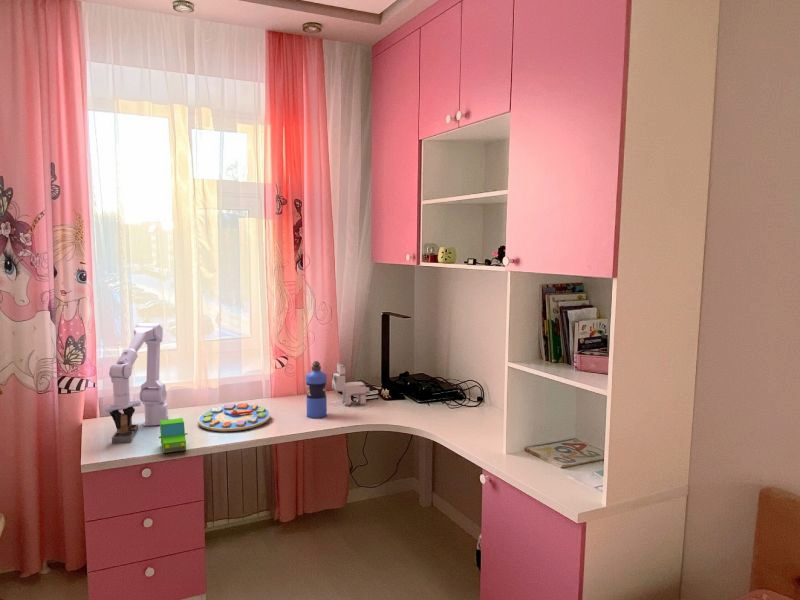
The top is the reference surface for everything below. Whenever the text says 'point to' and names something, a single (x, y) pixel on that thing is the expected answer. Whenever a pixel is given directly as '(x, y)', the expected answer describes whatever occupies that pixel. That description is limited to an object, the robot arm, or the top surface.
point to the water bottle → (316, 392)
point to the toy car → (172, 435)
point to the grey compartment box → (126, 434)
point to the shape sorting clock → (234, 417)
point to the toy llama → (348, 387)
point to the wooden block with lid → (123, 424)
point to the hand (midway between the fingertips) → (122, 427)
